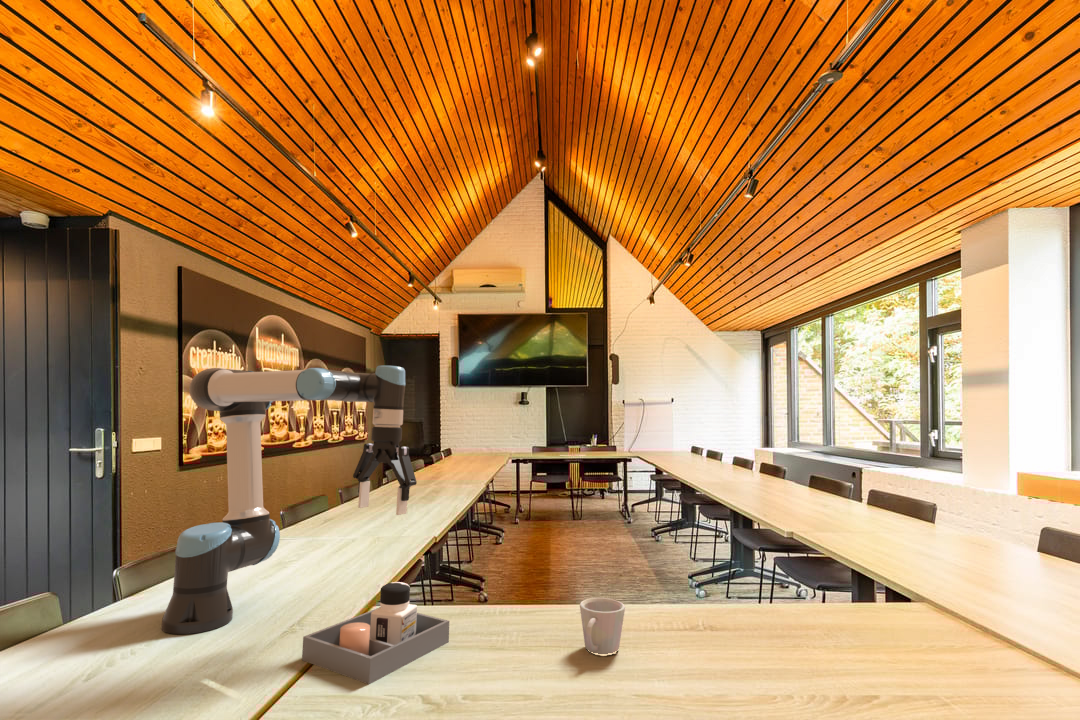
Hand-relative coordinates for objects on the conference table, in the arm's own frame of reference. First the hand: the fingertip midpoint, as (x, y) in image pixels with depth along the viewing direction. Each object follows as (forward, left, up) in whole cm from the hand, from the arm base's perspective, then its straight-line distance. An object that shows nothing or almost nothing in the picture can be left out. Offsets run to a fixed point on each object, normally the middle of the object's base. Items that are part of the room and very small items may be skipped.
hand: (381, 510), depth 141 cm
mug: (+53, +16, -29) cm, 62 cm away
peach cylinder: (+12, -18, -28) cm, 35 cm away
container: (+12, -6, -28) cm, 31 cm away
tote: (+12, -11, -29) cm, 33 cm away
